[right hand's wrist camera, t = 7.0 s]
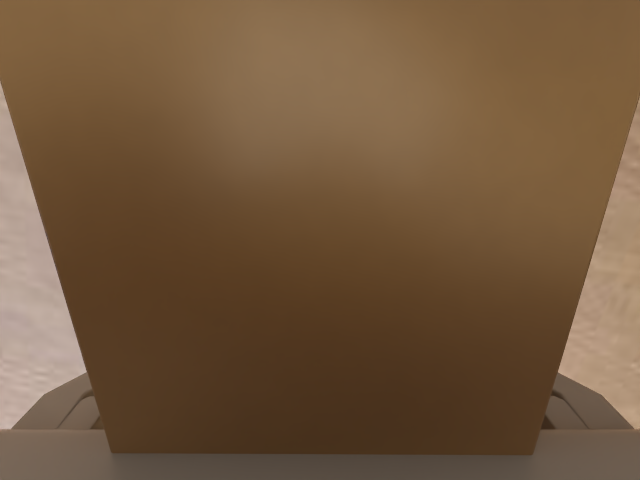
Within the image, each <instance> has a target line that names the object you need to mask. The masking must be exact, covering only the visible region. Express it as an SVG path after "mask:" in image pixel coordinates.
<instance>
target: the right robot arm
mask: <svg viewBox="0 0 640 480" xmlns="http://www.w3.org/2000/svg"><path fill="white" fill-rule="evenodd" d="M0 480H640V429H634V428H633V427H632V426H631V425H630V424H629V423H628V422H627V421H626V420H625V419H624V418H623V417H622V416H621V415H620V414H619V413H618V412H617V411H616V410H615V408H614V407H613V406H612V405H611V404H610V403H609V402H608V401H607V400H606V399H605V398H604V397H603V396H602V395H600V394H598V393H596V392H595V391H593V390H591V389H589V388H587V387H585V386H583V385H581V384H579V383H577V382H575V381H573V380H571V379H569V378H568V377H566V376H564V375H562V374H560V373H558V372H557V376H556V379H555V383H554V386H553V389H552V393H551V396H550V399H549V403H548V406H547V409H546V413H545V416H544V420H543V423H542V426H541V430H540V433H539V436H538V440H537V443H536V446H535V450H534V453H533V455H368V454H167V453H111V451H110V448H109V444H108V441H107V437H106V434H105V431H104V427H103V424H102V421H101V417H100V414H99V411H98V407H97V404H96V401H95V397H94V394H93V390H92V387H91V384H90V380H89V377H88V374H87V372H86V373H85V374H83V375H81V376H79V377H77V378H75V379H73V380H71V381H69V382H67V383H65V384H63V385H62V386H60V387H58V388H56V389H54V390H52V391H50V392H48V393H46V394H44V395H43V396H42V397H41V398H40V399H39V400H38V402H37V403H36V404H35V405H34V406H33V407H32V408H31V409H30V410H29V411H28V412H27V413H26V414H25V415H24V416H23V417H22V418H21V419H20V420H19V421H18V422H17V423H16V424H15V425H14V426H13V427H12V429H0Z"/></svg>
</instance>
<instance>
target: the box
mask: <svg viewBox="0 0 640 480" xmlns="http://www.w3.org/2000/svg"><path fill="white" fill-rule="evenodd" d="M0 81H1V85H2V88H3V92H4V95H5V98H6V102H7V105H8V108H9V112H10V115H11V118H12V122H13V125H14V129H15V132H16V135H17V139H18V142H19V145H20V149H21V152H22V155H23V159H24V162H25V165H26V169H27V172H28V176H29V179H30V182H31V186H32V189H33V192H34V196H35V199H36V202H37V206H38V209H39V212H40V216H41V219H42V223H43V226H44V229H45V233H46V236H47V239H48V243H49V246H50V249H51V253H52V256H53V259H54V263H55V266H56V270H57V273H58V276H59V280H60V283H61V286H62V290H63V293H64V296H65V300H66V303H67V306H68V310H69V313H70V317H71V320H72V323H73V327H74V330H75V333H76V337H77V340H78V343H79V347H80V350H81V353H82V357H83V360H84V364H85V367H86V370H87V374H88V377H89V380H90V384H91V387H92V390H93V394H94V397H95V401H96V404H97V407H98V411H99V414H100V417H101V421H102V424H103V427H104V431H105V434H106V437H107V441H108V444H109V448H110V451H111V453H167V454H368V455H533V453H534V450H535V446H536V443H537V440H538V436H539V433H540V430H541V426H542V423H543V420H544V416H545V413H546V409H547V406H548V403H549V399H550V396H551V393H552V389H553V386H554V383H555V379H556V376H557V372H558V369H559V366H560V362H561V359H562V356H563V352H564V349H565V345H566V342H567V339H568V335H569V332H570V329H571V325H572V322H573V319H574V315H575V312H576V308H577V305H578V302H579V298H580V295H581V292H582V288H583V285H584V282H585V278H586V275H587V271H588V268H589V265H590V261H591V258H592V255H593V251H594V248H595V245H596V241H597V238H598V234H599V231H600V228H601V224H602V221H603V218H604V214H605V211H606V208H607V204H608V201H609V197H610V194H611V191H612V187H613V184H614V181H615V177H616V174H617V170H618V167H619V164H620V160H621V157H622V154H623V150H624V147H625V144H626V140H627V137H628V133H629V130H630V127H631V123H632V120H633V117H634V113H635V110H636V107H637V103H638V100H639V96H640V0H0Z"/></svg>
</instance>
